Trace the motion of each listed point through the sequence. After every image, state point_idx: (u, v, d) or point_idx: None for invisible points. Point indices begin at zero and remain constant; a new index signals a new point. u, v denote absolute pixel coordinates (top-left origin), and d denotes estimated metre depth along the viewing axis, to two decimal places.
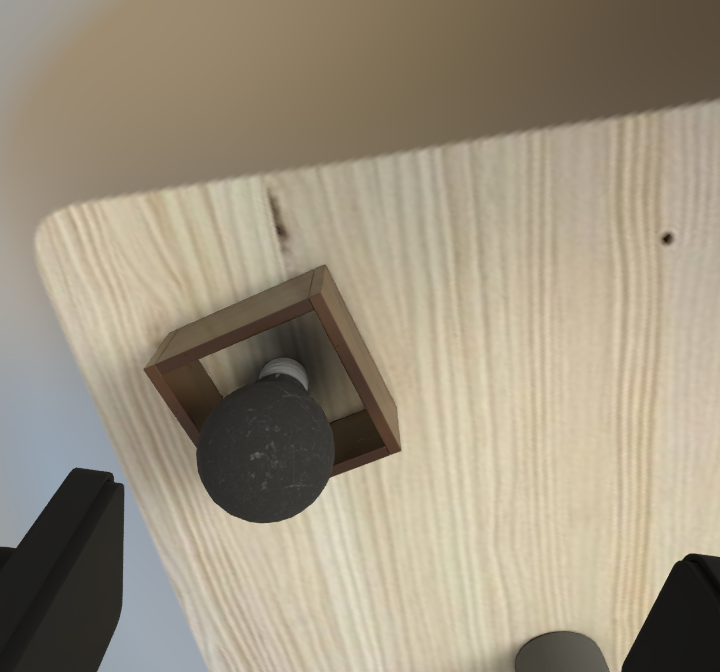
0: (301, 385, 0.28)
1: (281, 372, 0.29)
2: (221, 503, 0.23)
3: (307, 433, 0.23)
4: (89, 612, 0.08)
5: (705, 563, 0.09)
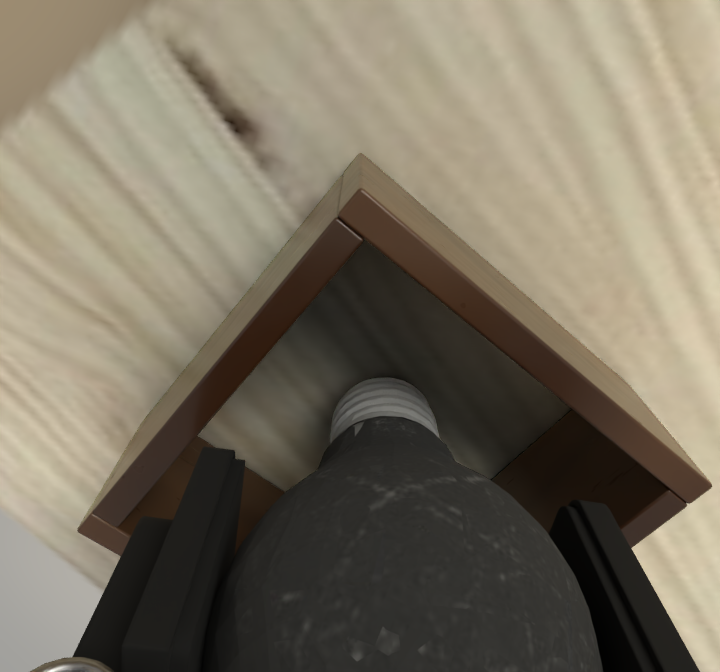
0: (419, 429, 0.12)
1: (365, 416, 0.13)
2: None
3: (493, 606, 0.07)
4: (223, 574, 0.09)
5: (582, 507, 0.10)
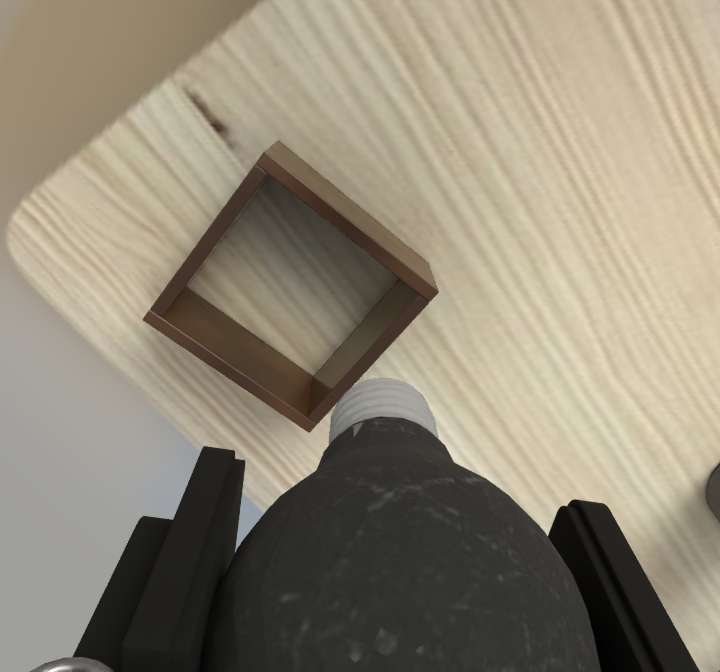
0: (417, 430, 0.12)
1: (364, 416, 0.13)
2: None
3: (490, 607, 0.07)
4: (224, 574, 0.09)
5: (582, 507, 0.10)
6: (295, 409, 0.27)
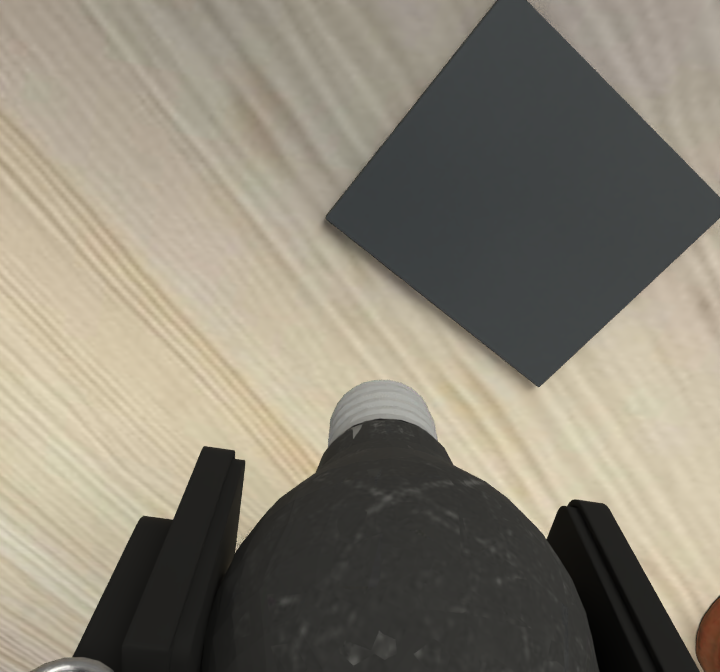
0: (417, 432, 0.12)
1: (363, 418, 0.13)
2: None
3: (489, 611, 0.07)
4: (223, 574, 0.09)
5: (582, 507, 0.10)
6: None
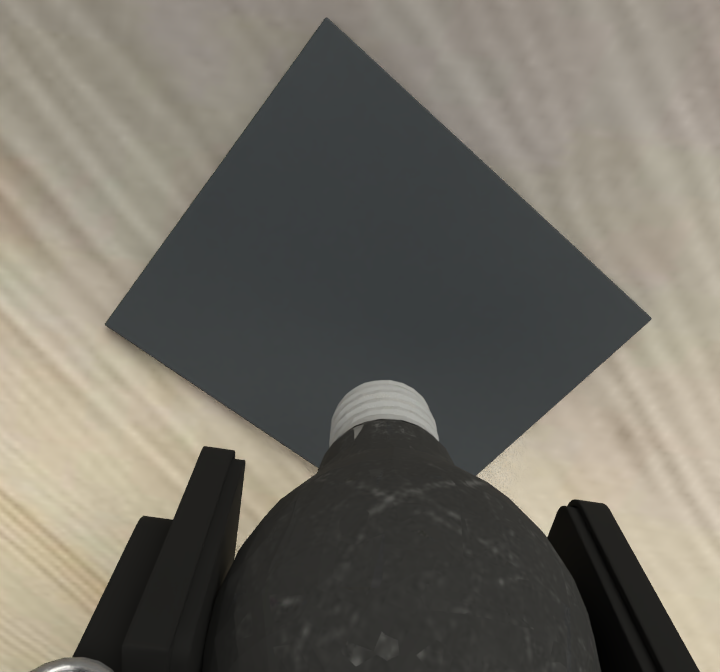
0: (418, 432, 0.12)
1: (364, 418, 0.13)
2: None
3: (491, 612, 0.07)
4: (223, 574, 0.09)
5: (582, 507, 0.10)
6: None
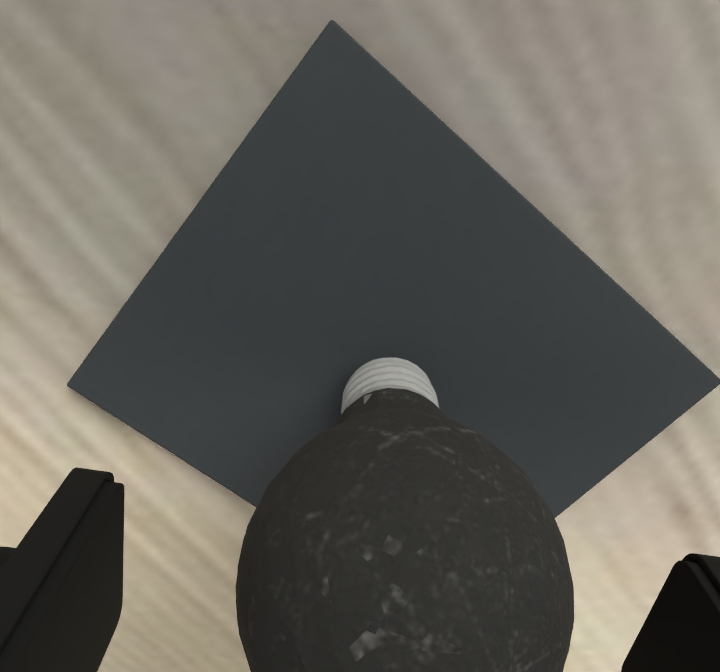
0: (420, 399, 0.13)
1: (373, 389, 0.14)
2: None
3: (478, 522, 0.08)
4: (89, 612, 0.08)
5: (705, 563, 0.09)
6: None
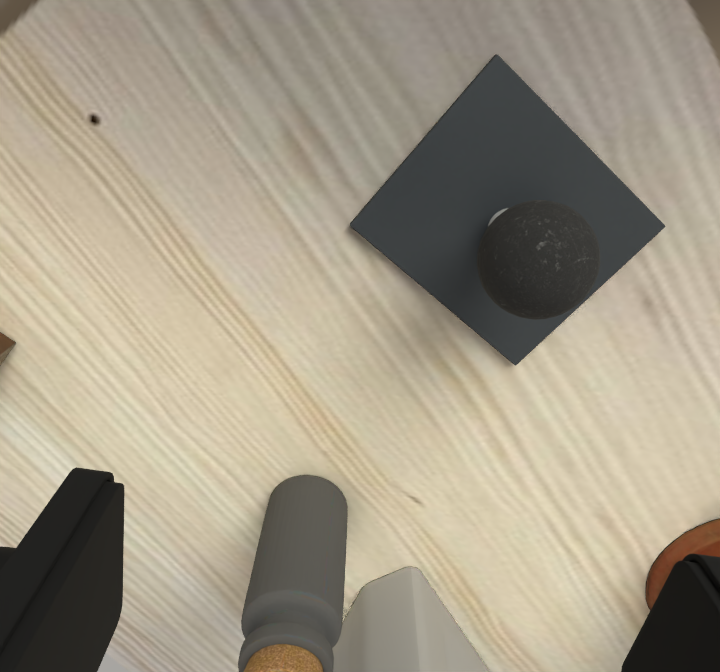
0: None
1: None
2: (524, 303, 0.27)
3: (571, 217, 0.27)
4: (89, 612, 0.08)
5: (705, 563, 0.09)
6: None
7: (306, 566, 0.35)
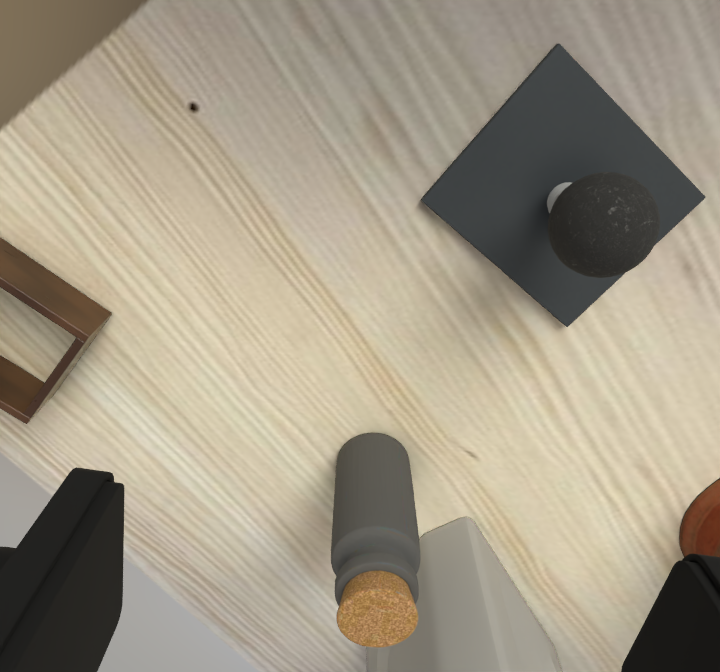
0: None
1: None
2: (595, 262, 0.31)
3: (637, 186, 0.31)
4: (89, 612, 0.08)
5: (705, 563, 0.09)
6: (14, 408, 0.42)
7: (387, 507, 0.39)
